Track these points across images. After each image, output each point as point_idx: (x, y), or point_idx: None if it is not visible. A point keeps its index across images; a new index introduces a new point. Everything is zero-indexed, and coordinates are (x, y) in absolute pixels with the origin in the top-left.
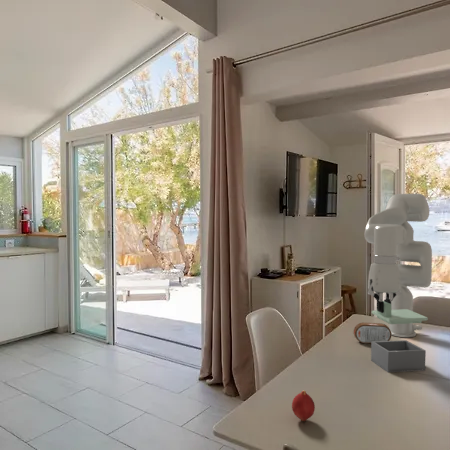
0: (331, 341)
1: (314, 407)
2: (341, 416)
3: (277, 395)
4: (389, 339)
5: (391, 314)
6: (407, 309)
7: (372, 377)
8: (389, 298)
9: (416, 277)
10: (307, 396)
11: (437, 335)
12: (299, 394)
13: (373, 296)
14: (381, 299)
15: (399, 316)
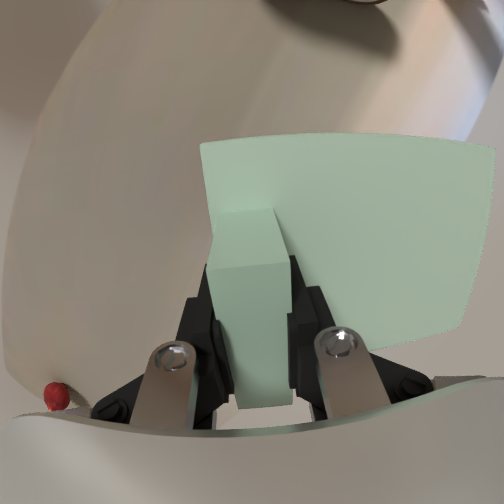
0: None
1: (68, 404)
2: (101, 387)
3: (20, 328)
4: (374, 3)
5: (318, 277)
6: (493, 154)
7: (178, 274)
8: (311, 412)
9: None
10: (56, 410)
11: (501, 17)
12: (47, 406)
13: (114, 395)
14: (206, 414)
15: (341, 323)
